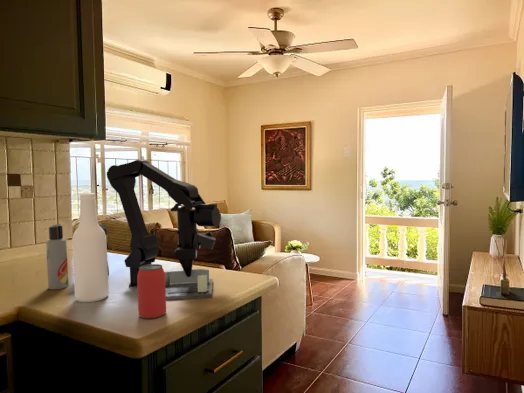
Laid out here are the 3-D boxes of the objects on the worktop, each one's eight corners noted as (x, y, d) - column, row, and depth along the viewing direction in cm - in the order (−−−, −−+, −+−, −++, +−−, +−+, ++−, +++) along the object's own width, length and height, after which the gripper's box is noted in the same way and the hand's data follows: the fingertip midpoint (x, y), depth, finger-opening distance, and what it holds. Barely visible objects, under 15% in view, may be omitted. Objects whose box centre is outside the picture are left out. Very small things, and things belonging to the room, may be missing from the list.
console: (156, 300, 104) (156, 296, 104) (165, 284, 120) (165, 281, 120) (211, 297, 105) (211, 293, 105) (212, 282, 121) (212, 278, 121)
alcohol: (67, 301, 105) (62, 194, 104) (92, 292, 113) (87, 192, 112) (92, 304, 102) (87, 193, 101) (115, 294, 110) (111, 192, 109)
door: (163, 284, 116) (163, 272, 115) (164, 282, 117) (163, 270, 117) (209, 281, 117) (208, 269, 117) (209, 280, 119) (208, 268, 119)
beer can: (142, 310, 96) (140, 264, 95) (168, 309, 96) (166, 263, 96) (135, 320, 89) (133, 270, 89) (163, 318, 90) (162, 269, 89)
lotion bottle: (72, 285, 122) (69, 223, 121) (57, 290, 116) (54, 226, 116) (59, 284, 124) (56, 223, 123) (44, 288, 118) (40, 225, 117)
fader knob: (197, 292, 106) (197, 277, 106) (198, 289, 109) (198, 275, 109) (206, 291, 106) (206, 277, 106) (207, 288, 109) (206, 274, 109)
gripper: (212, 229, 106) (214, 283, 107) (214, 221, 125) (216, 268, 125) (172, 230, 105) (174, 285, 106) (180, 222, 124) (182, 269, 124)
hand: (188, 276), depth 115 cm, fingers closed
